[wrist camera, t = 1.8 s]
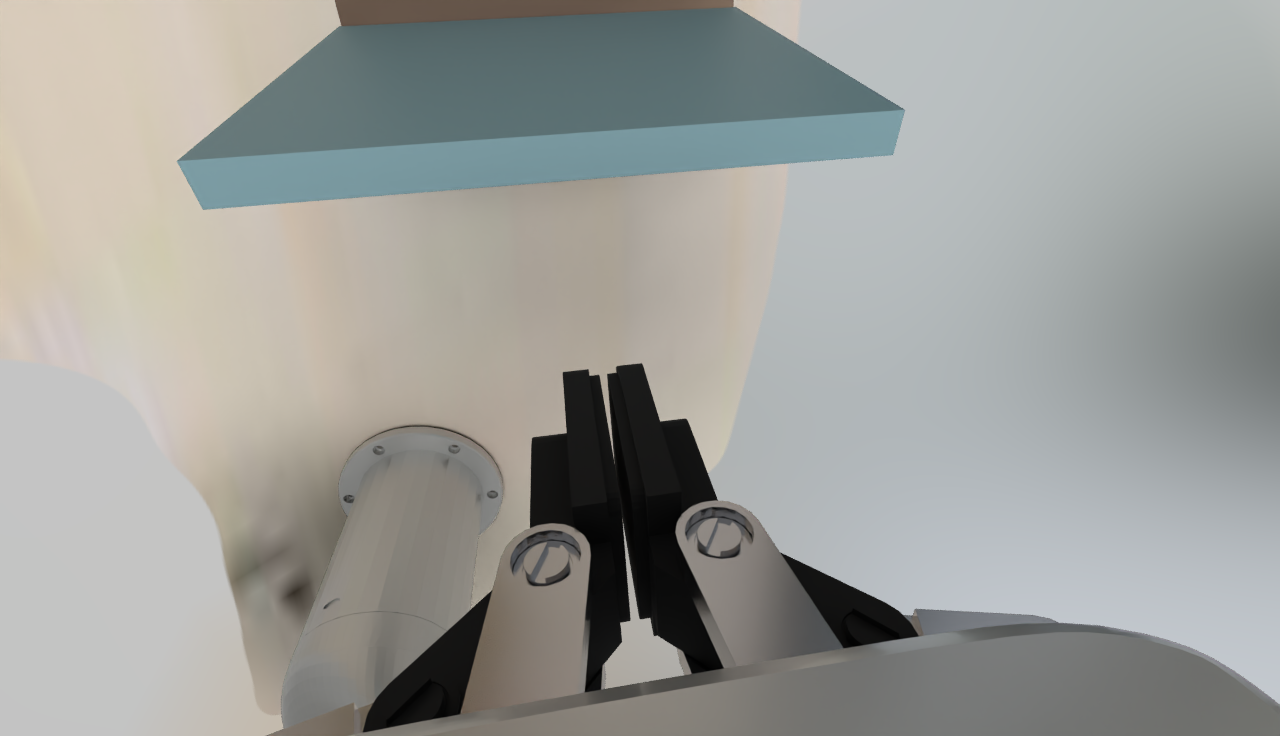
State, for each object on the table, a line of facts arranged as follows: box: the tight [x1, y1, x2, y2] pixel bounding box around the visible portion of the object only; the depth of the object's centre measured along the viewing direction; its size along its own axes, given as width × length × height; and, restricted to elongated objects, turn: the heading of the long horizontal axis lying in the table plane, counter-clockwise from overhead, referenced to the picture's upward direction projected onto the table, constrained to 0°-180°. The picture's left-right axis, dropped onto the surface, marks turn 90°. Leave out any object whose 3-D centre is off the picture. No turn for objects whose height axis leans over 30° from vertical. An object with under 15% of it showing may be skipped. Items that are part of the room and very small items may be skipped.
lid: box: [177, 7, 905, 210], centre depth 21 cm, size 16×18×1 cm
